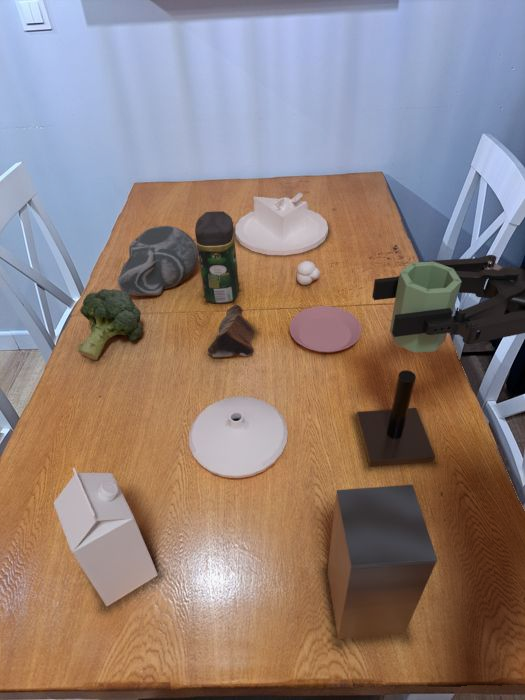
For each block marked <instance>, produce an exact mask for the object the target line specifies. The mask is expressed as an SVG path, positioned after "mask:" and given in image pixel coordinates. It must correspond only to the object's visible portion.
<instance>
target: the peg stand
mask: <svg viewBox="0 0 525 700" xmlns="http://www.w3.org/2000/svg"><path fill="white" fill-rule="evenodd" d="M416 381H417V375H416V374H415V372H412V371H411V370H407V369H406V370H405V369H404V370H401V371H400V372H399V373H398V375H397V382H396V386H395V391H394V394H393V395H394V396H393V400H392V405H391V408H390V409H377V410H367V411H366V410H365V411H357V412H356V421H357V424H358V428H359V429H358V430H359V432H360V437H361V441H362V443H363V448H364V451H365V456H366V459H367V463H368V467H369V468H374V467H388V466H401V465H402V466H403V465H415V464H416V465H417V464H429V463H430V464H431V463H434V461H435V459H436V456H435V453H434V450H433V448H432V445H431V442H430V440H429V437H428V435H427V432H426V430H425V427H424V424H423V422H422V420H421V419H422V418H421V417H420V414H419V411H418V409H417V407H410V403H411V400H412V396H413V391H414V388H415V384H416Z"/></svg>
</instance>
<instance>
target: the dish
mask: <svg viewBox="0 0 525 700" xmlns="http://www.w3.org/2000/svg"><path fill="white" fill-rule="evenodd" d="M302 197H303V193H302V192H298V193H297V194H295V195H294V197H292V198H290V197H285V196H284V197H281V198H274V197H266V196H265V197H263V196H253V210H252V211H250V212H248V213H247V214H245V215H243V216H242V217H240V219H239V220H238V221H237V222H236V223H235V231H234V235H235V239H236V240H237V241H238V243H239V244H240V245H241V246H243V248H246V249H248V250H249V251H252V252H254V253H259V254H262V255H267V256H290V255H298V254H302V253H303V254H304V253H305V252H308V251H310V250H314V249H316V248H317V247H318V246H319V245H321V244H322V243H323V242H325V240H326V238H327V236H328V234H329V226H328V222H327V220H326V219H325V218H324V217H323V216H322V215H321V214H320V213H318V212H316V211H313V210H311V209H309V208H308V204H309V203H308V201H305V200H300V199H301V198H302Z"/></svg>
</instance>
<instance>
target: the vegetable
mask: <svg viewBox="0 0 525 700" xmlns="http://www.w3.org/2000/svg"><path fill="white" fill-rule="evenodd" d="M79 311H80V314H81V315H83V317H84V318H86V319H87V321H89V322H91V325H90V328H89V330H90V334H89V335H88V336H87V338H86V339H85V340H84V342H82V343H80V344H79V345H77V349H78V350H77V352H78V354H80V355H81V356H84V357H86V358H88V359H90V360H92V361H98V359H99V357H100V356H101V355H102V351H103V349H104V347H105V344H106V342H107V341H108V340H109V339H111V338H113V337H114V336H117V335H122V336H126V337H127V338H128V339H129V341H130V342H135V341H136V340H137V339H139V338H140V337H141V335H142V334H143V330H144V327H143V324H142V323H141V310H140V309H139V308H138V307H137V306H136V304H135V302H134V300H133V299H132V297H131V294H128V293H127V292H126V291H122V290H121V289H116V288H112V289H107V288H101V289H100V290H99V291H97V292H96V291H95V292H90V293H88V294H86V296H85V297H84V299H83V301H82V306H81V307H80V309H79Z"/></svg>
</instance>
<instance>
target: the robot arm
mask: <svg viewBox="0 0 525 700" xmlns="http://www.w3.org/2000/svg"><path fill="white" fill-rule="evenodd" d="M432 261H433V262H436V263H439V264H442V265H445V266H447V267H450V268H453V269H454V270H455V272H456V274H457V275H458V277H459V278H460V280H461V281H462V282H461V285H460V289H459V292H458V294H459V293H460V294H461V293H462V294H474V295H475V297H476V298H482V299H483V298H484V299H485V300H483V301H481V302H479V303H476V304H474V305H471V306H469V307H467V308H464V309H462V308H460V307H459V306H457V307H456V308H455V311H454V310H453V311H452V310H451V309H450V308H446V309H438V310H429V311H421V312H413V313H405V314H397V315H395V319H394V324H393V330H392V334H393V336H394V337H398V336H406V335H414V334H422V333H426V335H436V334H444V333H447V334H452V335H455V336H458V335H459V336H460V337H461V338H462V342H463V343H464V344H465V345H474V344H479V343H483V342H489V341H494V340H498V339H504V338H507V337H513V336H517V335H522V334H525V263H523V264H522V265H521V266H519V267H513V266H501V265H500V264H498V263H496V261H497V256H496V255H495V254H487V255H483V256H480V257H473V258H472V257H470V258H453V259H452V258H451V259H437V260H424V261H423V262H432ZM398 281H399V275H397V276H391V277H382V278H375V279H374V281H373V282H374V283H373V289H372V296H371V297H372V300H373V301H380V300H381V301H382V300H389V299H395V298H396V292H397V286H398ZM454 312H455V313H454ZM452 313H453V314H454V315H453V314H452Z"/></svg>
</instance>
